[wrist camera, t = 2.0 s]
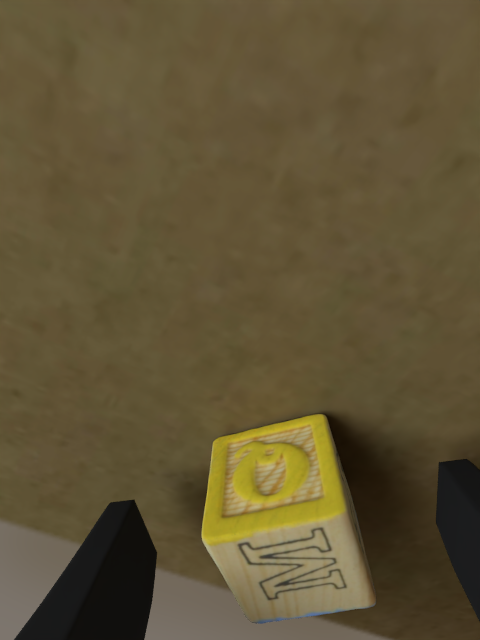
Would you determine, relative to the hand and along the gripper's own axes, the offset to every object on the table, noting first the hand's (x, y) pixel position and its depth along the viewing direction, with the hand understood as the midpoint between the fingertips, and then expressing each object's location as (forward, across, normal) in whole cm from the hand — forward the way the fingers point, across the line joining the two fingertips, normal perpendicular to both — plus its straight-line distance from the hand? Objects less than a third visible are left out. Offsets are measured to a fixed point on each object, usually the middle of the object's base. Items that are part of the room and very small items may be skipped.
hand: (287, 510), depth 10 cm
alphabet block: (+2, 0, 0) cm, 2 cm away
